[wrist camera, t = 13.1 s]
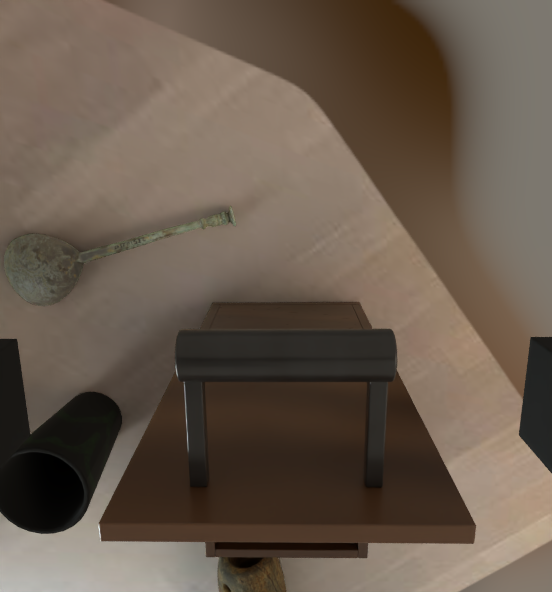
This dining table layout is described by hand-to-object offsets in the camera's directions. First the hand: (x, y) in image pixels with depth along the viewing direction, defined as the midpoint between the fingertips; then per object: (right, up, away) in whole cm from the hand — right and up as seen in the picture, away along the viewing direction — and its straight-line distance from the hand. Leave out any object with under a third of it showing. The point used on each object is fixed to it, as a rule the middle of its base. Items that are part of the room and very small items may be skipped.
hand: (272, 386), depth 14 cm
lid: (+1, -4, +15) cm, 16 cm away
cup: (-18, -10, +39) cm, 44 cm away
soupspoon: (-14, +7, +34) cm, 38 cm away
